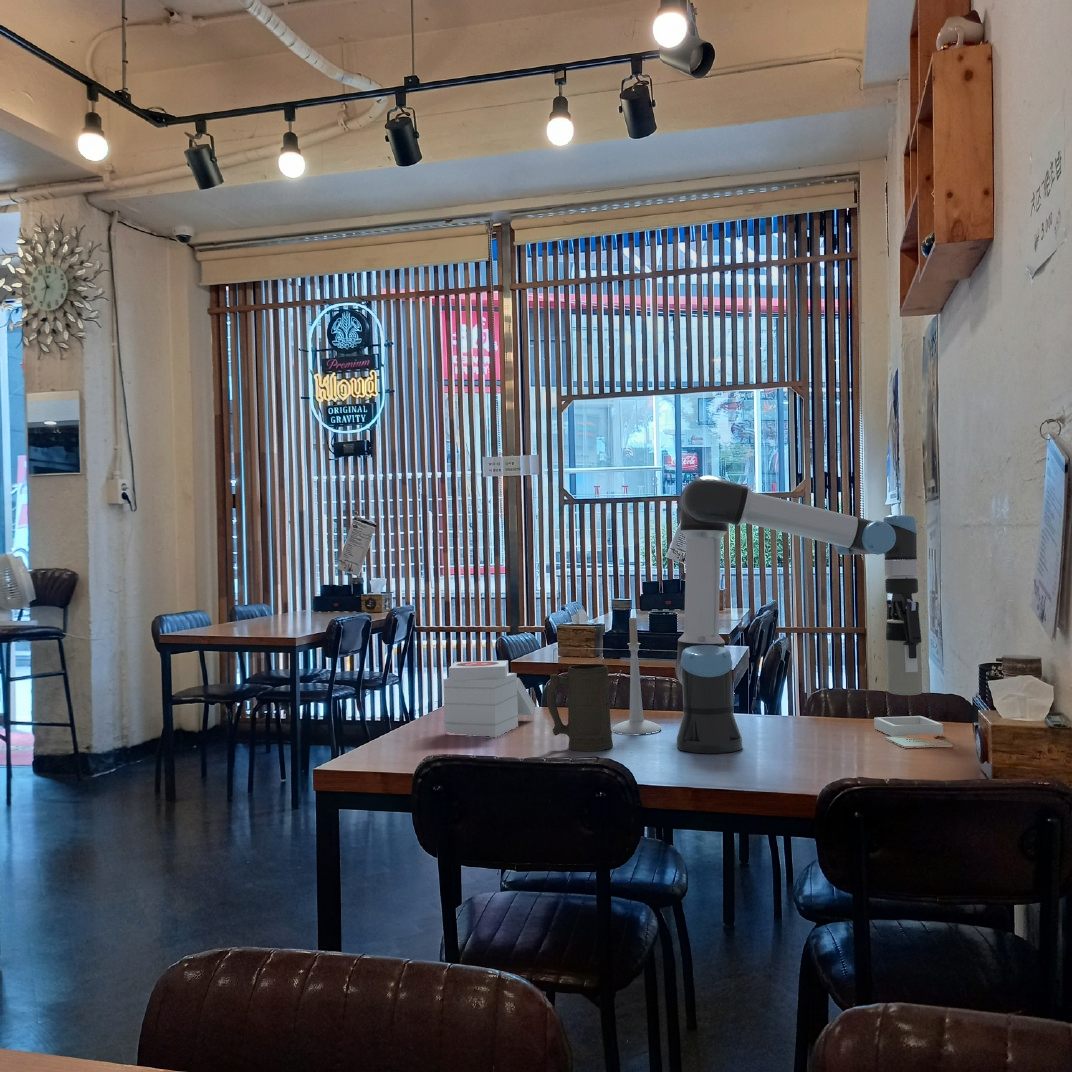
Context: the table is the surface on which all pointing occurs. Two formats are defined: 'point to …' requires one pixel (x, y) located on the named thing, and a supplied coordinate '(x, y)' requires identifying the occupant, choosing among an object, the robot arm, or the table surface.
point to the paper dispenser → (484, 699)
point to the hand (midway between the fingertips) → (904, 669)
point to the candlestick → (635, 693)
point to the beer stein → (583, 707)
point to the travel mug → (901, 662)
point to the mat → (906, 743)
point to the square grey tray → (907, 725)
